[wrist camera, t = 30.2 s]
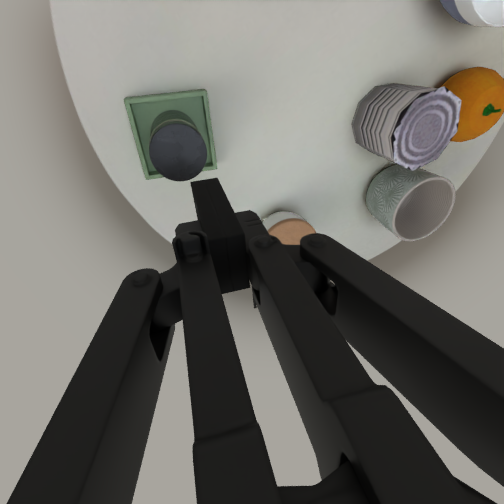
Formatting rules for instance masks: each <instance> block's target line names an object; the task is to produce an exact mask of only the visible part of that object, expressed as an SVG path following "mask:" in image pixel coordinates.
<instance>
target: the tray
mask: <svg viewBox="0 0 504 504" xmlns="http://www.w3.org/2000/svg"><path fill="white" fill-rule="evenodd" d="M124 102H125V106H126V109H127V113H128V117H129V120H130V124H131V127H132V131H133V135H134V138H135V142H136V146H137V149H138V153H139V156H140V160H141V164H142V167H143V171H144V174H145V178H146V180H149V179H155V178H162V177H164V176H162V175H161V174H160V173H159V172H158V171H157V170H156V169H155V168H154V166H153V164H152V162H151V159H150V155H149V141H150V133H151V126H152V123H153V121H154V119H155V118H156V117H157V116H158V115H159V114H160V113H162V112H164V111H168V110H177V111H181V112H183V113H185V114H186V115H188V116H189V117H190V118H191V119H192V120H193V122H194V123H195V125H196V127H197V129H198V130H199V132H200V133H201V135H202V137H203V139H204V142H205V144H206V147H207V161H206V164H205V166H204V168H203V170H202V171H207V170H213V169H217V162H216V155H215V148H214V141H213V133H212V126H211V119H210V112H209V104H208V97H207V91H206V90H205V89H200V90H191V91H182V92H172V93H163V94H154V95H145V96H135V97H126V98H125V99H124Z"/></svg>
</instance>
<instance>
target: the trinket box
mask: <svg viewBox="0 0 504 504" xmlns="http://www.w3.org/2000/svg"><path fill="white" fill-rule="evenodd" d="M262 224H263V225H264V226H265V228H266V229H267V231H268V233H269V234H270V235H273V236H275V237H277V238H278V239H279V240H280V241H281V243H282V244H286V245H300V240H301V238H302V237H303V236H305V235H308V234H312V233H315V234H316V231H315V230H314V228H313V227H312V226H311V225H310V224H309V223H308V222H307V221H306V220H305V219H303V218H302V217H300V216H299V215H297V214H295V213H292V212H287V211H281V212H276V213H274V214H272V215H270V216H268V217H267V218H266V219H265V220H264V221H263V222H262Z"/></svg>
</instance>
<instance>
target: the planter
mask: <svg viewBox="0 0 504 504" xmlns="http://www.w3.org/2000/svg"><path fill="white" fill-rule="evenodd" d="M454 202H455V189H454V186H453V184H452V183H451V182H450V181H449V180H448V179H446V178H444V177H441V176H438V175H436V174H433V173H431V172H428V171H425V170H422V169H419V168H417V169H415V170H413V171H411V170H409V169H407V168H405V167H403V166H401V165H394V166H390V167H388V168H386V169H384V170H383V171H381V172H380V173H379V174H378V175H377V176H376V177H375V178H374V179H373V181H372V182H371V184H370V186H369V188H368V191H367V195H366V203H367V207H368V209H369V211H370V212H371V214H372V215H373V216H374V217H375V218H376V219H377V220H378V221H379V222H380V223H381V224H382V225H384V226H385V227H386V228H387V229H388V230H390V231H391V232H392V233H393V234H394V235H396V236H397V237H398V238H400V239H401V240H404V241H416V240H420V239H422V238H425V237H427V236H428V235H430V234H431V233H433V232H434V231H436V229H438V228H439V227H440V226H441V225H442V224H443V223H444V221H445V220H446V219H447V217H448V216H449V214H450V212H451V210H452V208H453V205H454Z"/></svg>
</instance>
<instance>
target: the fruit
mask: <svg viewBox="0 0 504 504" xmlns="http://www.w3.org/2000/svg"><path fill="white" fill-rule="evenodd" d="M443 86H445V87H446V88H447V89H448V90H450V91H451V92H452V93H453V94H454V95H456V96H457V97H458V98H459V99H461V100H462V101H461V108H460V116H459V123H458V131H457V132H456V134H455V135H454V136H453V138H452V139H451V140H450V141H454V142H463V141H467V140H471V139H474V138H476V137H478V136H480V135H482V134H483V133H485V132H486V131H488V130H489V129H490V128H491V127H492V126H493V125H495V124H496V122H497V121H498V120H499V119H500V117H501V116H502V114H503V112H504V79H503V78H502V77H501V76H500V75H499V74H498V73H497V72H496V71H494V70H492V69H488V68H483V67H474V68H470V69H465V70H462V71H460V72H458V73H457V74H455V75H453V76H452V77H450V78H449V79H448V80H447V81H446V82H445V83H444V84H443V85H442V86H441V87H443ZM441 87H440V88H441Z"/></svg>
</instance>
